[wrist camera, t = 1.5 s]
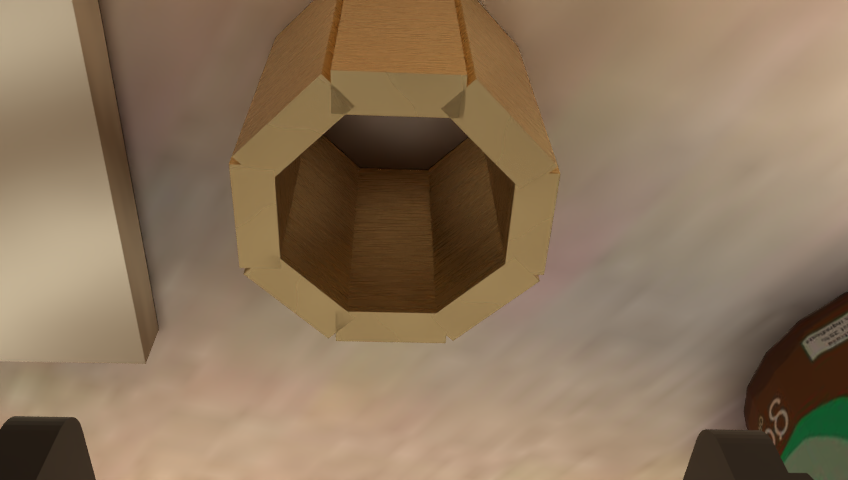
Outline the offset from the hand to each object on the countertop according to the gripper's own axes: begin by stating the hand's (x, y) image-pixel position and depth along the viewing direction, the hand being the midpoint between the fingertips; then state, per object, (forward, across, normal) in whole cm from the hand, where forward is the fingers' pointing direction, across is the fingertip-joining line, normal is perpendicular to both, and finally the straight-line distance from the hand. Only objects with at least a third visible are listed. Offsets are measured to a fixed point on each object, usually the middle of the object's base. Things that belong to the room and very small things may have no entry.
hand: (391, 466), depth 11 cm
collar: (+12, 0, 0) cm, 12 cm away
